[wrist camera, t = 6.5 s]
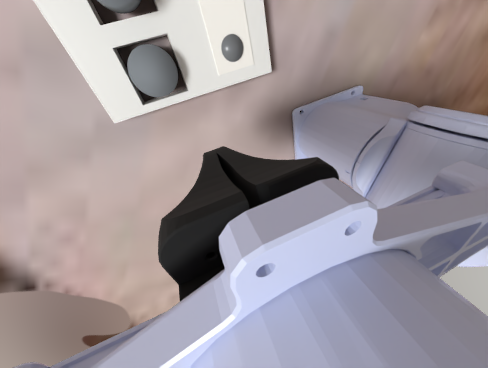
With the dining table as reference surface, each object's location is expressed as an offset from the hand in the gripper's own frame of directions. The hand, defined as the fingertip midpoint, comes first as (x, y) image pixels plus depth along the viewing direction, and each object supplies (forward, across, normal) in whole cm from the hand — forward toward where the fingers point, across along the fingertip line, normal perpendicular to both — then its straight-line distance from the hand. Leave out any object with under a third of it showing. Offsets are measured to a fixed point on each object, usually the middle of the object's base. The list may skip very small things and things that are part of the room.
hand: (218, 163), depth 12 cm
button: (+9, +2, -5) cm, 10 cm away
